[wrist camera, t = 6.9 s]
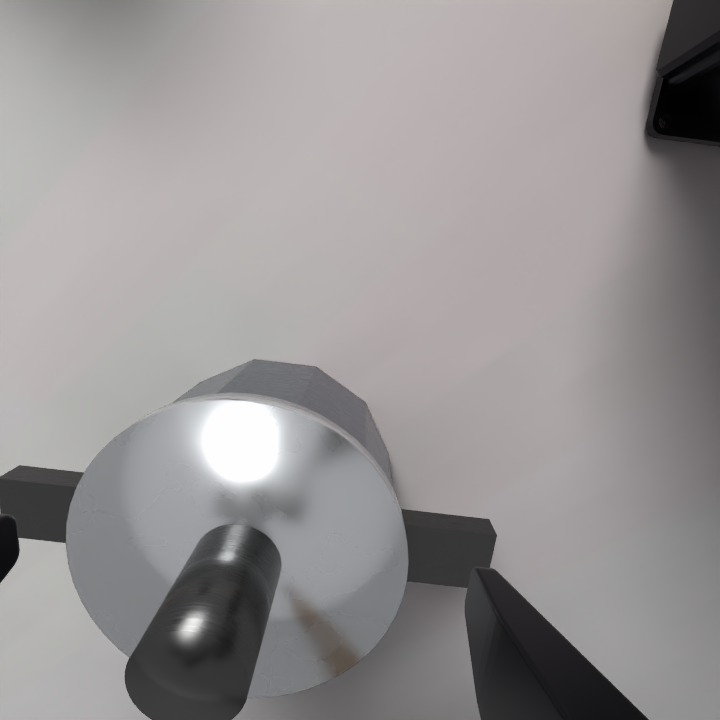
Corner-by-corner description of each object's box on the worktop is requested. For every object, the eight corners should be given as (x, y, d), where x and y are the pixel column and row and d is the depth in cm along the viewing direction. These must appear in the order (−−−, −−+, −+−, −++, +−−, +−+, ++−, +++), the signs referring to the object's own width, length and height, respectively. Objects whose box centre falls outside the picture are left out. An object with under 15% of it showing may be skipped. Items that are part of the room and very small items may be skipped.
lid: (429, 414, 14) (465, 497, 9) (383, 692, 17) (391, 872, 12) (75, 372, 14) (-85, 434, 9) (85, 660, 16) (-33, 830, 11)
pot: (479, 386, 20) (527, 438, 14) (441, 580, 22) (469, 694, 16) (87, 339, 20) (-30, 372, 14) (93, 541, 22) (-6, 643, 16)
